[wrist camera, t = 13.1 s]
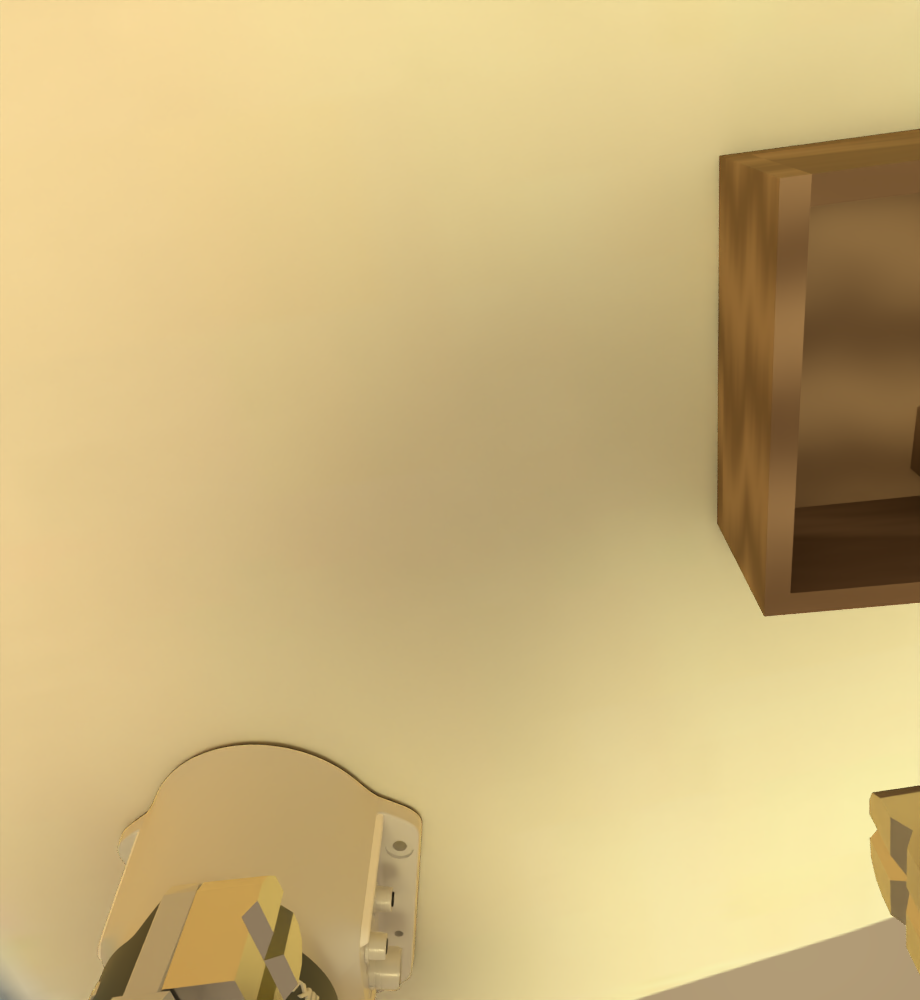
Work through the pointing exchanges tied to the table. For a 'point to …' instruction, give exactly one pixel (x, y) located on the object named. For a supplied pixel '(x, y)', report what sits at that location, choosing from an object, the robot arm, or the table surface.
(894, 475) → the wooden box
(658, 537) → the table surface
